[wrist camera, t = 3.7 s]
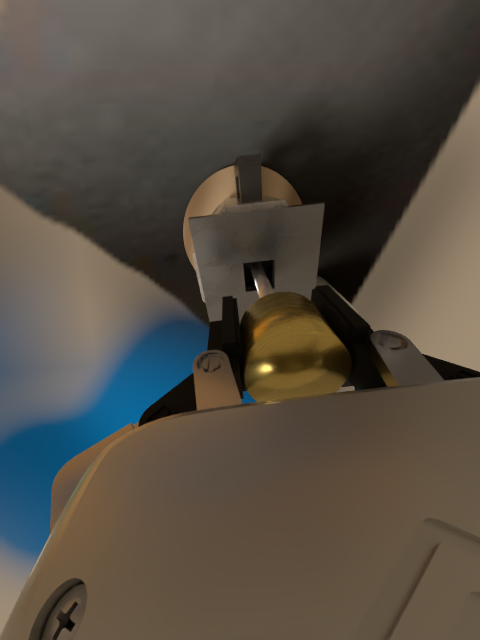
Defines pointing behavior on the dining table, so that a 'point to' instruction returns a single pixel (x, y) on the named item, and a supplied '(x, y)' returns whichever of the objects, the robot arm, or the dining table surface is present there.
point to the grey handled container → (255, 242)
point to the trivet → (225, 187)
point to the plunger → (288, 343)
